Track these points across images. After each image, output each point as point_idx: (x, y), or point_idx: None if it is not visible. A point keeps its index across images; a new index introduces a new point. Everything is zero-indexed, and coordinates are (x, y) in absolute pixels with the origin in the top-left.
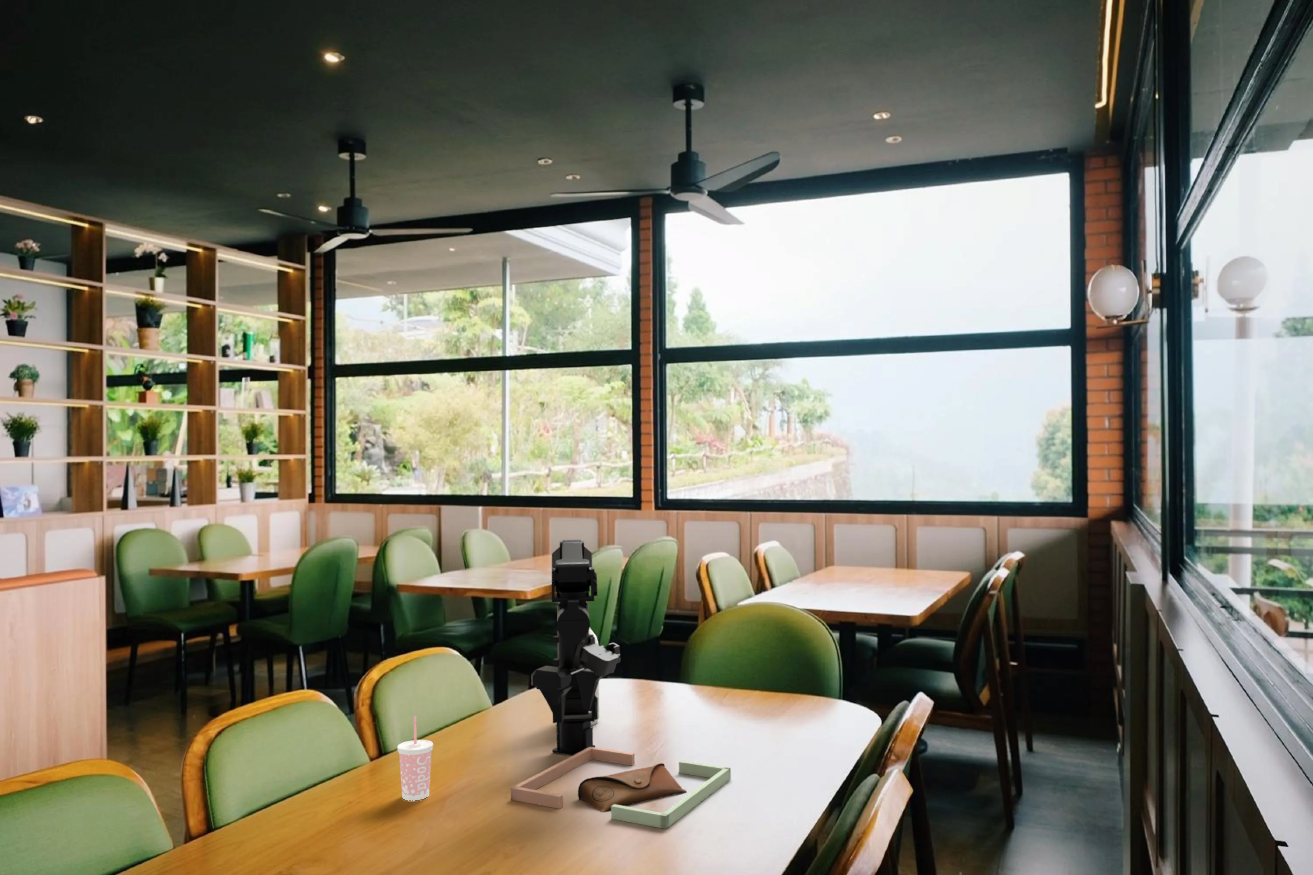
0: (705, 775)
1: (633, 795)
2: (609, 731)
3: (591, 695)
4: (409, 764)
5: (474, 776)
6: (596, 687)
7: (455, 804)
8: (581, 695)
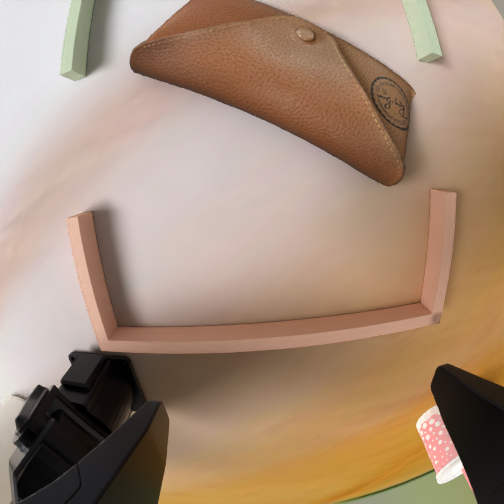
0: (90, 18)
1: (341, 39)
2: (13, 365)
3: (127, 461)
4: None
5: (336, 430)
6: (61, 480)
7: (455, 362)
8: (157, 492)
